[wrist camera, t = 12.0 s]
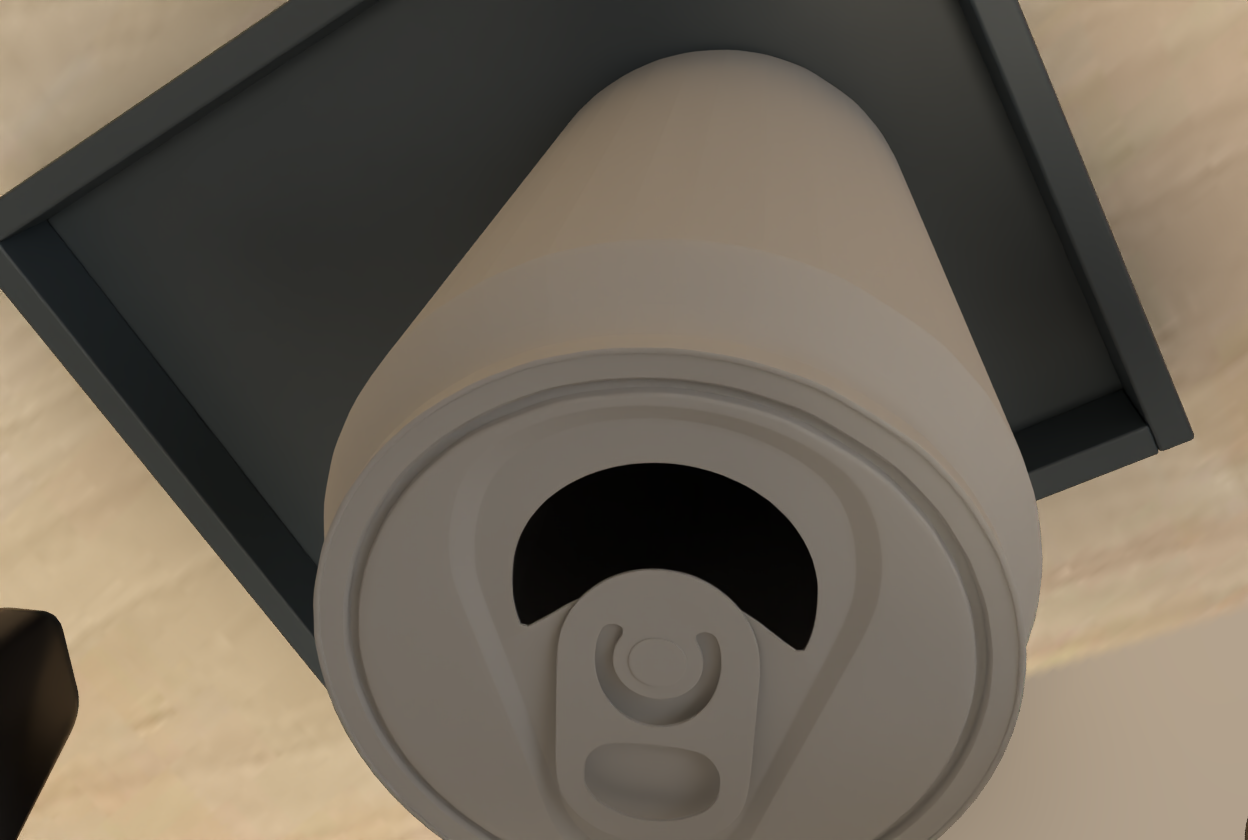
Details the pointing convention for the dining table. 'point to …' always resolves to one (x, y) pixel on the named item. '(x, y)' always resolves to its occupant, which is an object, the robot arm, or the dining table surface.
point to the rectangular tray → (475, 193)
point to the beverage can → (685, 495)
